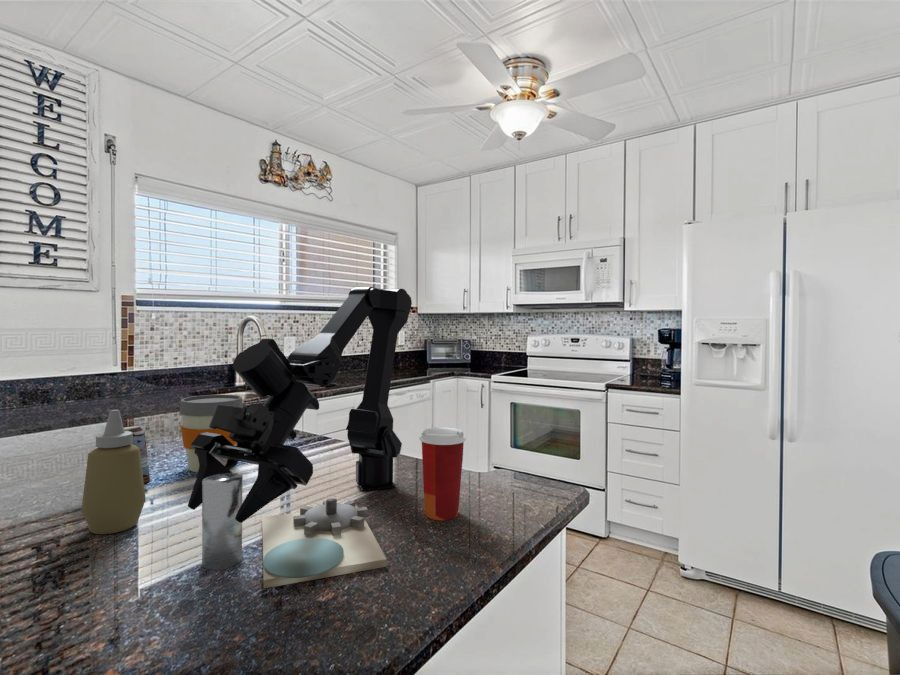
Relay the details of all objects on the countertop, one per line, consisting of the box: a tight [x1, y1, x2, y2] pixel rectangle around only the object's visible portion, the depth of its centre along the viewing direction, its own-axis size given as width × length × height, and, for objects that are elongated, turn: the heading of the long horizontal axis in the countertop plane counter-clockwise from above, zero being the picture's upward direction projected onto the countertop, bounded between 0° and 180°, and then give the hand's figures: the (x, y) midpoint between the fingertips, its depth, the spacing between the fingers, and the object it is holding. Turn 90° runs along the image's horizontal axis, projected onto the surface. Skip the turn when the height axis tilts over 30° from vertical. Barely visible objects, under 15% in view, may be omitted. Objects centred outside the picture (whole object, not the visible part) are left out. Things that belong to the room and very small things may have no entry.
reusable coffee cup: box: [179, 394, 244, 473], centre depth 105 cm, size 13×12×15 cm
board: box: [261, 497, 388, 589], centre depth 69 cm, size 16×22×4 cm
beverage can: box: [124, 425, 151, 488], centre depth 89 cm, size 6×7×12 cm
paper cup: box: [418, 426, 466, 522], centre depth 80 cm, size 8×8×14 cm
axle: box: [201, 472, 244, 571], centre depth 63 cm, size 5×5×11 cm
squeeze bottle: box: [81, 409, 147, 535], centre depth 73 cm, size 8×8×18 cm
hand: (213, 514), depth 62 cm, fingers open, 9 cm apart
